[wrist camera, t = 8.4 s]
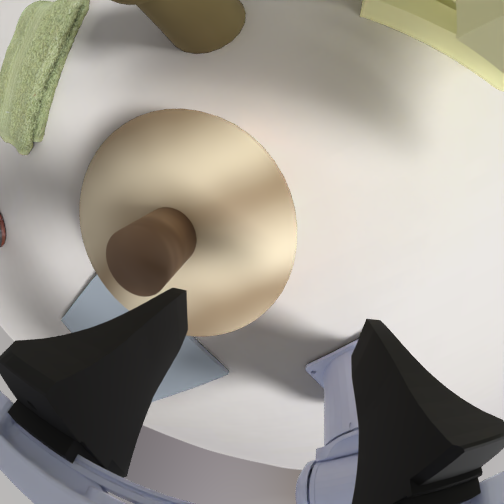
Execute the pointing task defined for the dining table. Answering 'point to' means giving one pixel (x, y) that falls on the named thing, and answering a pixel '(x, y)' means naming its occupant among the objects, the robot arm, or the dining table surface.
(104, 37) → the dining table surface
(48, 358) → the robot arm
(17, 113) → the washcloth
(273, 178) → the birch lid
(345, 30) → the dining table surface
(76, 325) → the slate mat
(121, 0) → the cork
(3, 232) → the supplement bottle
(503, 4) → the slatted curved stool
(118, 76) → the dining table surface
